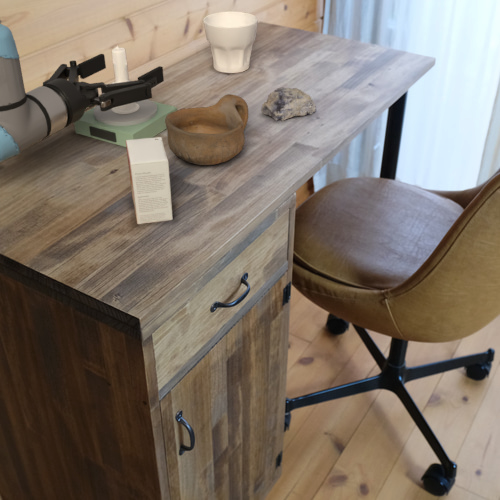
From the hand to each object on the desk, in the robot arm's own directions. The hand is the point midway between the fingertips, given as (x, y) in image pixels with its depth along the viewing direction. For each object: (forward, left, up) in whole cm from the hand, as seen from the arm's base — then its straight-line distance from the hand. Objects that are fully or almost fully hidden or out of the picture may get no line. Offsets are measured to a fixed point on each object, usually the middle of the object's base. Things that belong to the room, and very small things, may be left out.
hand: (132, 67), depth 122 cm
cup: (+1, +35, -11) cm, 36 cm away
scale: (0, -3, -11) cm, 11 cm away
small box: (+22, -25, -11) cm, 35 cm away
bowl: (+20, -4, -11) cm, 23 cm away
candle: (0, -3, -7) cm, 8 cm away
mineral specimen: (+25, +17, -11) cm, 32 cm away
